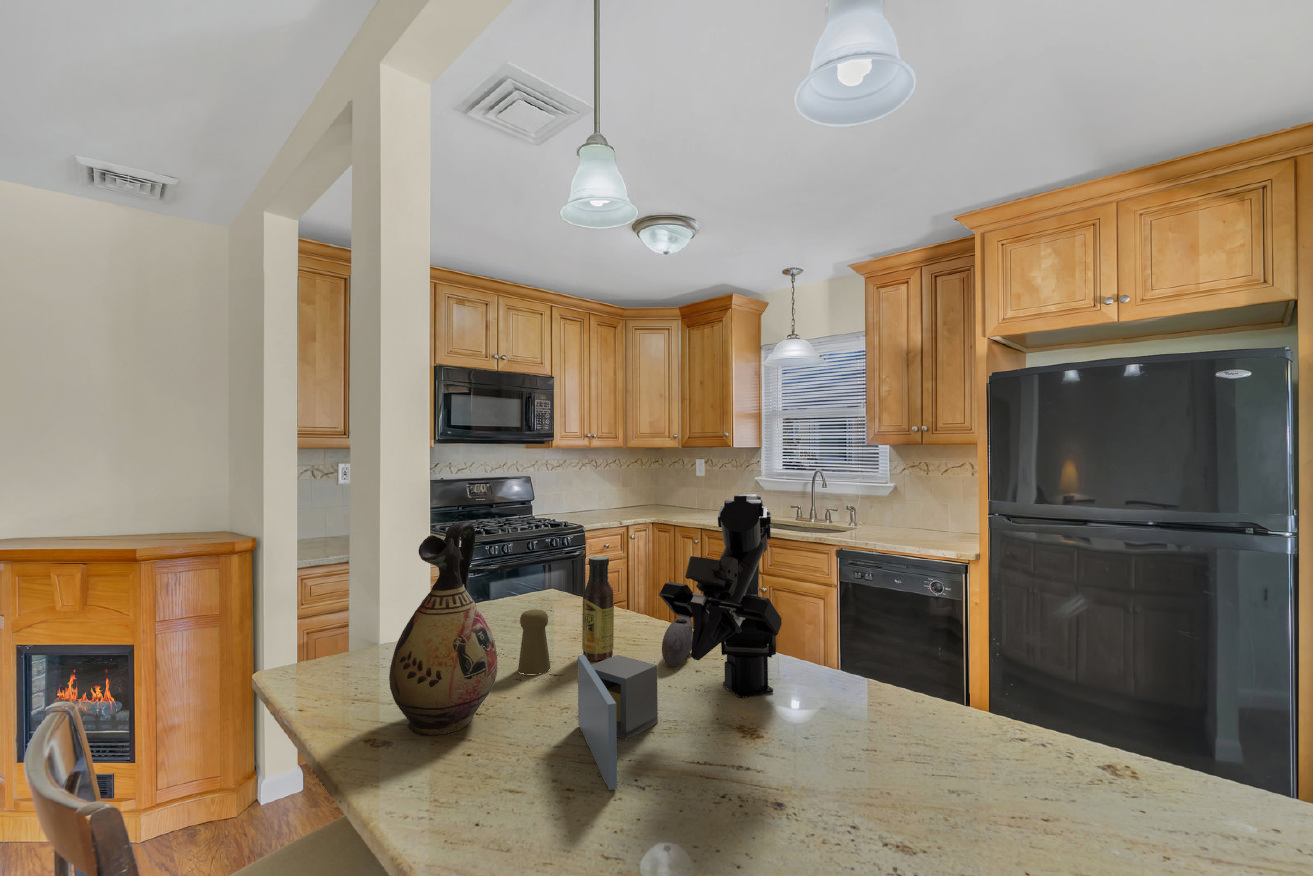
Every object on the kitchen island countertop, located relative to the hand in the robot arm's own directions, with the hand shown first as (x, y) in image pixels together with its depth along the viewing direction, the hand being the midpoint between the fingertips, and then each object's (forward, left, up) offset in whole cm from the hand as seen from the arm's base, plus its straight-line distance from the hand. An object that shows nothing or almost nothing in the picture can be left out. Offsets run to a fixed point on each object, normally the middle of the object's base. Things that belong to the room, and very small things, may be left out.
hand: (694, 658), depth 86 cm
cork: (+16, -37, -11) cm, 42 cm away
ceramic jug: (+32, -20, -11) cm, 40 cm away
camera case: (+8, -9, -11) cm, 16 cm away
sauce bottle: (+3, -39, -11) cm, 41 cm away
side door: (+14, -1, -11) cm, 18 cm away
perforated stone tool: (-11, -32, -12) cm, 36 cm away
